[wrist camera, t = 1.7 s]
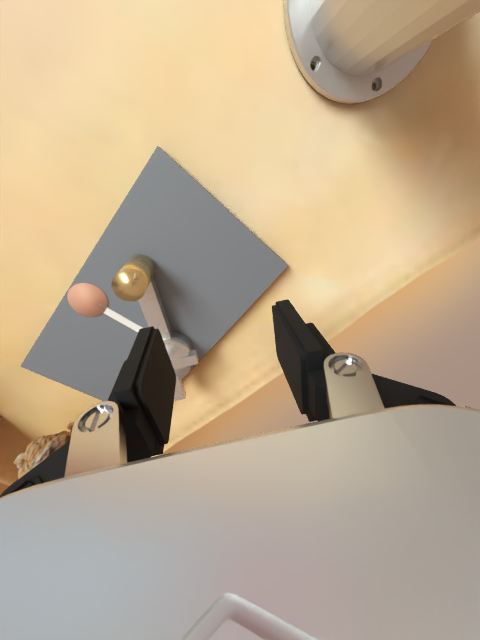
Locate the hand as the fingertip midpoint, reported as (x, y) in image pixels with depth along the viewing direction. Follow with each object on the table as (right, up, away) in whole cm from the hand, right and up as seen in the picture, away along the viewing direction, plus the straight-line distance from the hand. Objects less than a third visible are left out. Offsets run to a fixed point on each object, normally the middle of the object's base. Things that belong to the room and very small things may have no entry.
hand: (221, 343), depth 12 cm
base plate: (-9, +2, +18) cm, 20 cm away
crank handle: (-8, 0, +17) cm, 19 cm away
